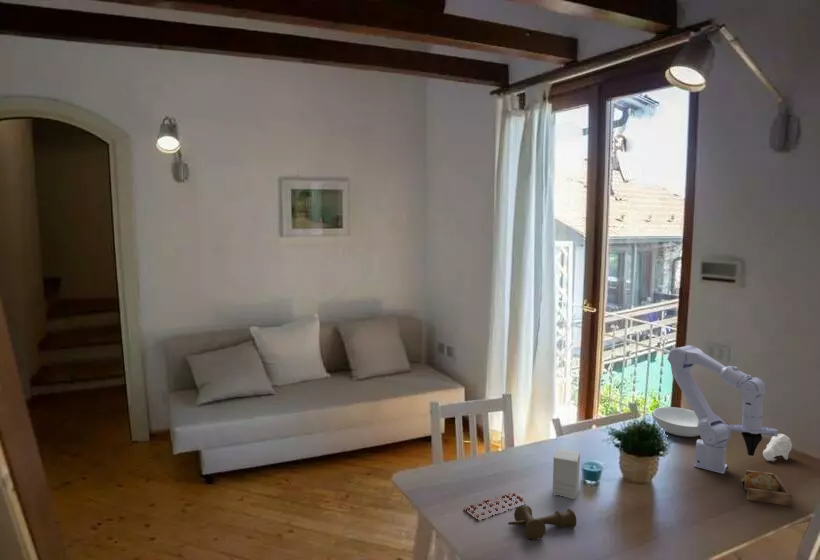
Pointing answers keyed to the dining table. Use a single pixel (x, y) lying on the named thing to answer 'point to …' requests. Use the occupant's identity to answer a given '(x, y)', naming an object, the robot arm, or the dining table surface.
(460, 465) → the dining table surface
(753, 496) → the wooden tray
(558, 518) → the kendama
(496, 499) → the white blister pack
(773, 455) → the white lumpy piece
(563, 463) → the supplement box
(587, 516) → the dining table surface
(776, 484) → the bread roll
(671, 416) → the serving bowl
